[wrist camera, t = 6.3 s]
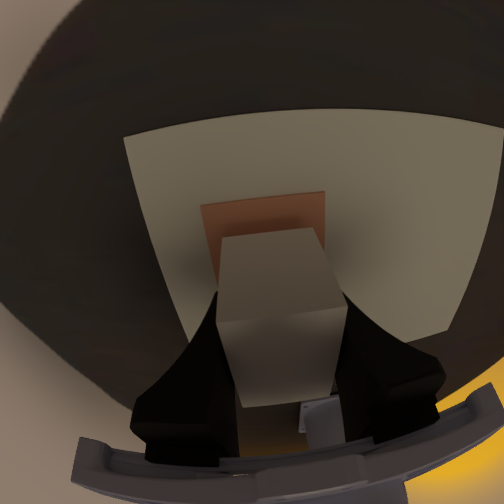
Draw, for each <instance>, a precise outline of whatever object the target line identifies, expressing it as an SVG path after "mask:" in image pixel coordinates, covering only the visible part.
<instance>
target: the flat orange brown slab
mask: <svg viewBox="0 0 504 504" xmlns="http://www.w3.org/2000/svg"><path fill="white" fill-rule="evenodd" d="M200 210H201V215H202V219H203V224H204V229H205V233H206V238H207V242H208V247H209V251H210V256H211V260H212V264H213V269H214V273H215V277H216V282H217V286H218V283H219V270H220V257H221V245H222V238H223V237H231V236H239V235H248V234H256V233H265V232H274V231H282V230H291V229H300V228H309V227H313V229H314V231H315V233H316V235H317V237H318V240H319V242H320V244H321V246H322V248H323V250H324V246H325V191H319V192H307V193H297V194H286V195H277V196H268V197H259V198H250V199H242V200H234V201H226V202H219V203H211V204H204V205H200Z"/></svg>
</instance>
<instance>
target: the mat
mask: <svg viewBox="0 0 504 504" xmlns="http://www.w3.org/2000/svg"><path fill="white" fill-rule="evenodd" d="M503 137H504V129H502V128H499V127H495V126H491V125H487V124H482V123H478V122H473V121H468V120H463V119H457V118H451V117H445V116H438V115H431V114H423V113H414V112H404V111H392V110H376V109H298V110H281V111H269V112H258V113H248V114H240V115H232V116H225V117H218V118H211V119H205V120H199V121H193V122H188V123H183V124H178V125H173V126H168V127H164V128H159V129H155V130H150V131H146V132H142V133H138V134H134V135H131V136H127V137H124V143H125V147H126V152H127V156H128V160H129V164H130V168H131V172H132V176H133V180H134V183H135V187H136V191H137V194H138V198H139V202H140V205H141V208H142V212H143V215H144V219H145V222H146V225H147V228H148V232H149V235H150V238H151V241H152V244H153V247H154V250H155V253H156V256H157V259H158V262H159V265H160V268H161V271H162V273H163V276H164V279H165V282H166V285H167V287H168V290H169V293H170V295H171V298H172V301H173V303H174V306H175V308H176V311H177V313H178V316H179V318H180V321H181V323H182V326H183V328H184V331H185V333H186V336H187V338H188V340H189V343H190V341H191V340H192V338H193V336H194V335H195V333H196V331H197V329H198V328H199V326H200V324H201V322H202V320H203V318H204V316H205V314H206V312H207V310H208V308H209V306H210V304H211V301H212V299H213V296H214V293H215V292H216V291H218V286H217V282H216V277H215V273H214V269H213V264H212V260H211V256H210V251H209V247H208V242H207V238H206V233H205V229H204V224H203V219H202V215H201V210H200V205H204V204H211V203H219V202H226V201H234V200H242V199H250V198H259V197H268V196H277V195H286V194H297V193H307V192H319V191H325V246H324V252H325V255H326V257H327V259H328V261H329V263H330V266H331V268H332V270H333V272H334V275H335V277H336V279H337V281H338V284H339V286H340V288H341V290H342V291H343V292H344V294H345V295H346V296H347V297H348V298H349V299H350V300H351V301H352V302H353V303H354V304H355V305H356V306H357V307H358V308H359V309H360V310H361V311H362V312H363V313H365V314H366V315H367V316H368V317H369V318H370V319H371V320H372V321H374V322H375V323H376V324H377V325H379V326H380V327H381V328H383V329H384V330H385V331H387V332H388V333H390V334H391V335H393V336H394V337H396V338H398V339H399V340H401V341H402V342H404V343H406V342H409V341H413V340H416V339H420V338H423V337H427V336H430V335H433V334H436V333H440V332H443V331H446V330H447V329H448V327H449V325H450V323H451V321H452V319H453V317H454V315H455V313H456V311H457V308H458V306H459V304H460V302H461V299H462V297H463V295H464V292H465V290H466V287H467V285H468V282H469V280H470V277H471V275H472V272H473V269H474V267H475V264H476V261H477V258H478V255H479V252H480V249H481V246H482V243H483V239H484V236H485V233H486V229H487V225H488V222H489V218H490V214H491V210H492V206H493V201H494V197H495V192H496V187H497V181H498V176H499V169H500V163H501V155H502V147H503Z"/></svg>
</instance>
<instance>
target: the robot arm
mask: <svg viewBox="0 0 504 504" xmlns="http://www.w3.org/2000/svg"><path fill="white" fill-rule="evenodd" d="M341 291H342V290H341ZM342 293H343V295H344V298H345V300H346V303H347V305H348V309H347V315H346V321H345V326H344V332H343V337H342V343H341V348H340V353H339V357H338V362H337V367H336V371H335V379H336V384H337V389H338V394H335V395H330V396H328V397H323V398H317V399H311V400H305V401H302V402H301V405H300V418H299V433H304V432H306V435H307V442H308V448H309V450H307V451H300V452H293V453H285V454H277V455H266V456H253V457H240V455H239V445H238V435H237V422H236V407H235V387H234V384H235V383H234V380H233V377H232V374H231V371H230V367H229V364H228V361H227V358H226V355H225V352H224V348H223V345H222V342H221V338H220V335H219V332H218V328H217V325H216V312H217V297H218V291H216V292H215V293H214V296H213V299H212V301H211V304H210V306H209V308H208V310H207V312H206V314H205V316H204V318H203V320H202V322H201V324H200V326H199V328H198V329H197V331H196V333H195V335H194V336H193V338H192V340H191V341H190V343H189V344H188V346H187V347H186V348H185V350H184V351H183V353H182V354H181V355H180V357H179V358H178V359H177V360H176V361H175V363H174V364H173V365H172V366H171V367H170V369H169V370H168V371H167V372H166V373H165V374H164V375H163V376H162V377H161V378H160V379H159V380H158V381H157V382H156V383H155V384H154V385H153V386H151V387H150V388H149V389H148V390H147V391H146V392H144V393H143V394H142V395H141V396H139V397H138V398H137V399H136V402H135V405H134V408H133V412H132V417H131V422H130V429H131V430H132V432H133V433H134V434H135V435H136V436H138V437H139V438H140V439H141V440H143V441H144V442H145V443H146V450H145V453H138V452H131V451H125V450H119V449H113V448H111V447H110V446H109V445H107V444H106V443H103V442H101V441H97V440H93V439H89V438H84V437H80V438H79V442H78V446H77V451H76V455H75V460H74V465H73V470H72V476H71V482H72V483H75V484H77V485H79V486H82V487H84V488H86V489H89V490H92V491H94V492H97V493H99V494H102V495H106V496H110V497H113V498H118V499H121V500H126V501H129V502H134V503H139V504H408V498H407V493H406V489H405V485H404V482H405V481H408V480H410V479H413V478H415V477H417V476H420V475H422V474H424V473H426V472H428V471H431V470H433V469H435V468H437V467H439V466H441V465H443V464H445V463H447V462H449V461H451V460H452V459H454V458H456V457H458V456H460V455H461V454H463V453H465V452H467V451H469V450H470V449H472V448H474V447H475V446H477V445H479V444H480V443H482V442H483V441H485V440H486V439H487V438H489V437H490V436H491V435H493V434H494V433H496V432H497V431H498V430H499V429H500V428H502V427H503V426H504V408H503V406H502V404H501V401H500V400H499V397H498V395H497V393H496V391H495V389H494V387H493V385H492V383H491V382H490V383H488V384H486V385H484V386H482V387H480V388H478V389H477V390H475V391H473V392H472V393H471V394H470V395H469V396H468V397H467V398H466V400H465V401H463V402H461V403H459V404H457V405H455V406H453V407H450V408H448V409H446V410H444V411H441V412H439V413H438V410H437V408H436V405H435V404H436V403H437V399H436V396H435V394H436V393H437V392H438V390H439V389H440V388H441V386H442V385H443V384H444V382H445V380H446V374H445V372H444V370H443V367H442V365H441V364H440V362H439V360H438V359H437V358H436V357H434V356H431V355H429V354H427V353H424V352H422V351H420V350H418V349H416V348H414V347H412V346H410V345H408V344H406V343H404V342H402V341H401V340H399V339H398V338H396V337H394V336H393V335H391V334H390V333H388V332H387V331H385V330H384V329H383V328H381V327H380V326H379V325H377V324H376V323H375V322H374V321H372V320H371V319H370V318H369V317H368V316H367V315H366V314H365V313H363V312H362V311H361V310H360V309H359V308H358V307H357V306H356V305H355V304H354V303H353V302H352V301H351V300H350V299H349V298H348V297H347V296H346V295H345V294H344V292H343V291H342ZM237 474H238V475H239V474H249V475H239V476H233V475H237Z"/></svg>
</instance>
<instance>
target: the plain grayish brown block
mask: <svg viewBox="0 0 504 504" xmlns="http://www.w3.org/2000/svg"><path fill="white" fill-rule="evenodd" d="M347 309H348V305H347V303H346V300H345V298H344V295H343V293H342V291H341V288H340V286H339V284H338V281H337V279H336V277H335V275H334V272H333V270H332V268H331V266H330V263H329V261H328V259H327V257H326V255H325V252H324V250H323V248H322V246H321V244H320V242H319V240H318V237H317V235H316V233H315V231H314V229H313V227H309V228H300V229H291V230H282V231H274V232H265V233H256V234H248V235H239V236H231V237H223V238H222V245H221V257H220V270H219V283H218V297H217V312H216V325H217V328H218V332H219V335H220V338H221V342H222V345H223V348H224V352H225V355H226V358H227V361H228V364H229V367H230V371H231V374H232V377H233V380H234V383H235V386H236V389H237V392H238V395H239V398H240V401H241V404H242V407H256V406H266V405H275V404H284V403H291V402H298V401H305V400H311V399H317V398H323V397H328V396H330V392H331V388H332V384H333V380H334V376H335V371H336V367H337V362H338V357H339V353H340V348H341V343H342V337H343V332H344V326H345V321H346V315H347Z"/></svg>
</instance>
